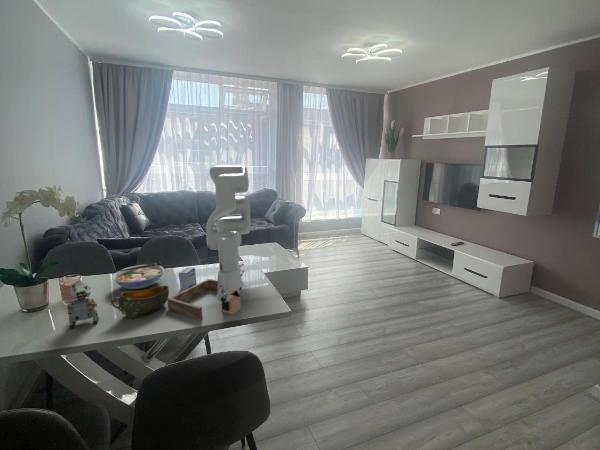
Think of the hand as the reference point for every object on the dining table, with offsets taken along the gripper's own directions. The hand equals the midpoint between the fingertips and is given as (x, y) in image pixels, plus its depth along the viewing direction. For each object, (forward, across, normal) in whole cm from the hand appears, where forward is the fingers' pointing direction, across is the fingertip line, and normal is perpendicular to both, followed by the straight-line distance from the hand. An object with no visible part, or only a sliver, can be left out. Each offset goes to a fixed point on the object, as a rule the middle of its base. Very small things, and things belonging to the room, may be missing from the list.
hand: (231, 306), depth 133 cm
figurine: (+2, +34, -44) cm, 56 cm away
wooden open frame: (+2, 0, -15) cm, 15 cm away
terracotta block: (+2, 0, 0) cm, 2 cm away
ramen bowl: (+2, +2, -56) cm, 56 cm away
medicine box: (+2, -9, -34) cm, 36 cm away
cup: (+2, +18, -32) cm, 36 cm away
